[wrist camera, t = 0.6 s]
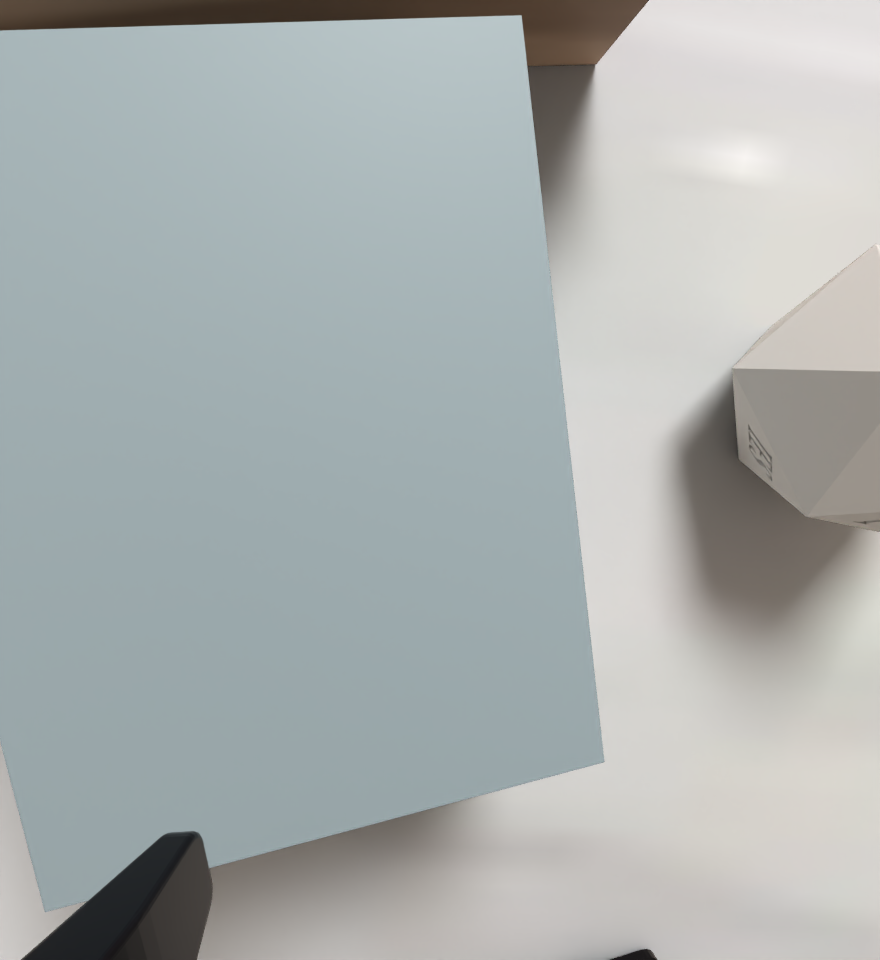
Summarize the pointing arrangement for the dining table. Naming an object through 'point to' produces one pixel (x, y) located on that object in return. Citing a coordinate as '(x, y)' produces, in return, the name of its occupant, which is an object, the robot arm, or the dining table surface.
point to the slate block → (277, 438)
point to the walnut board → (351, 17)
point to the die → (818, 400)
